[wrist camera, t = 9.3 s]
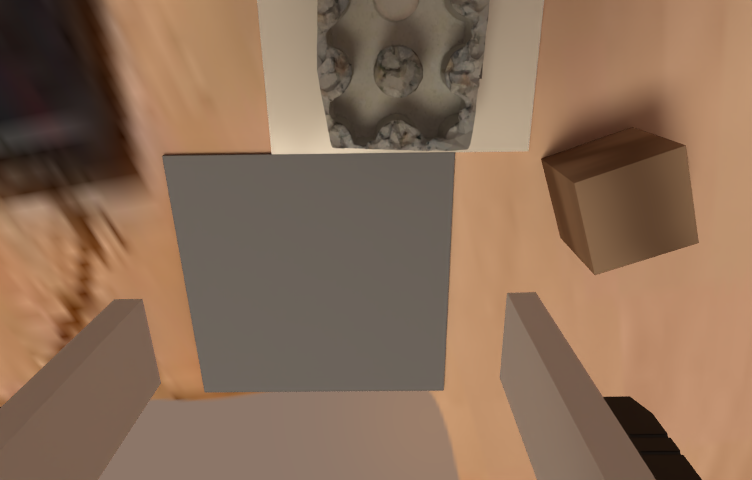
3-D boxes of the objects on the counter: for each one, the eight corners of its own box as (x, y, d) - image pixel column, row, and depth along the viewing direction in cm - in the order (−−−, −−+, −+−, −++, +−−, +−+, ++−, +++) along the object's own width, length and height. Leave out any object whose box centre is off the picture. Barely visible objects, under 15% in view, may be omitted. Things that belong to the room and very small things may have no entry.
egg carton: (323, -97, 22) (312, -126, 19) (487, -87, 22) (509, -114, 19) (321, 137, 26) (312, 153, 23) (461, 145, 26) (475, 162, 23)
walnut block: (560, 237, 29) (594, 275, 24) (540, 158, 27) (574, 183, 22) (645, 209, 28) (698, 242, 24) (631, 127, 26) (685, 145, 22)
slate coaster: (205, 390, 33) (204, 392, 33) (163, 155, 27) (162, 155, 27) (443, 388, 33) (443, 390, 33) (454, 151, 27) (454, 152, 27)
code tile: (272, 153, 27) (271, 154, 27) (247, -107, 22) (246, -108, 22) (527, 150, 27) (528, 151, 27) (554, -113, 22) (556, -114, 22)
